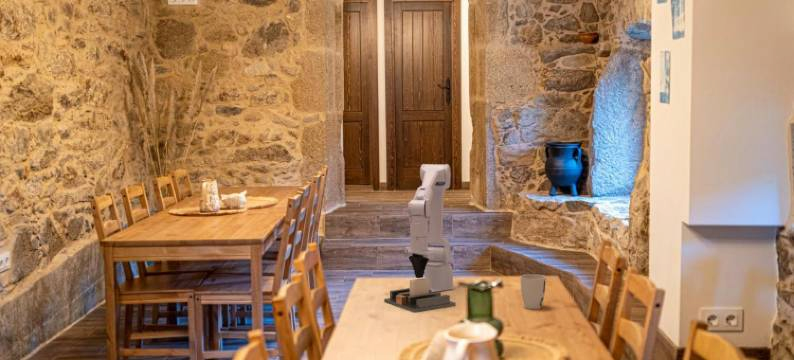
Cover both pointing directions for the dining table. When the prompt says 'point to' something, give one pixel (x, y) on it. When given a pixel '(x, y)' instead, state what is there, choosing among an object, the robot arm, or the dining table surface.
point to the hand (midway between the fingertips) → (419, 277)
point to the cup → (533, 290)
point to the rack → (418, 300)
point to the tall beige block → (419, 286)
